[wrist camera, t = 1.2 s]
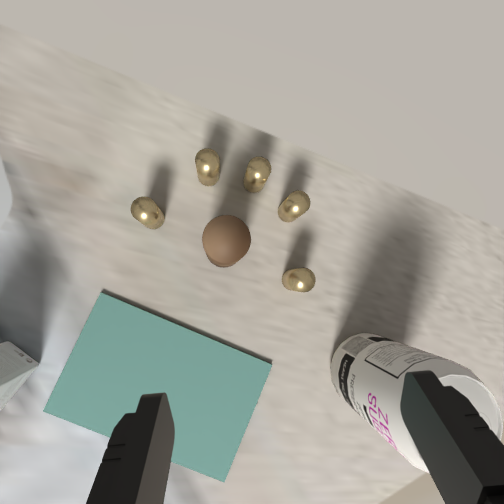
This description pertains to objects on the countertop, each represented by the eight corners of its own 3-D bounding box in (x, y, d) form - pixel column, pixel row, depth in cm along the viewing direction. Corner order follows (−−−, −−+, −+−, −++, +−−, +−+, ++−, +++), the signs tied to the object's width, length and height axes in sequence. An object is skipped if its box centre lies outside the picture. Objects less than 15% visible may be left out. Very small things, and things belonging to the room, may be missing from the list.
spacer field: (138, 223, 37) (126, 215, 32) (180, 137, 38) (174, 116, 33) (297, 293, 38) (310, 295, 33) (333, 208, 39) (349, 197, 34)
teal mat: (45, 409, 34) (43, 411, 34) (102, 292, 36) (100, 292, 35) (224, 479, 36) (224, 482, 35) (271, 363, 37) (272, 364, 37)
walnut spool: (200, 258, 37) (194, 251, 27) (214, 226, 38) (214, 207, 28) (232, 273, 37) (239, 270, 27) (247, 240, 38) (258, 227, 28)
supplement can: (409, 358, 39) (530, 407, 24) (372, 419, 38) (473, 511, 23) (354, 317, 38) (441, 342, 24) (314, 379, 37) (379, 444, 23)
